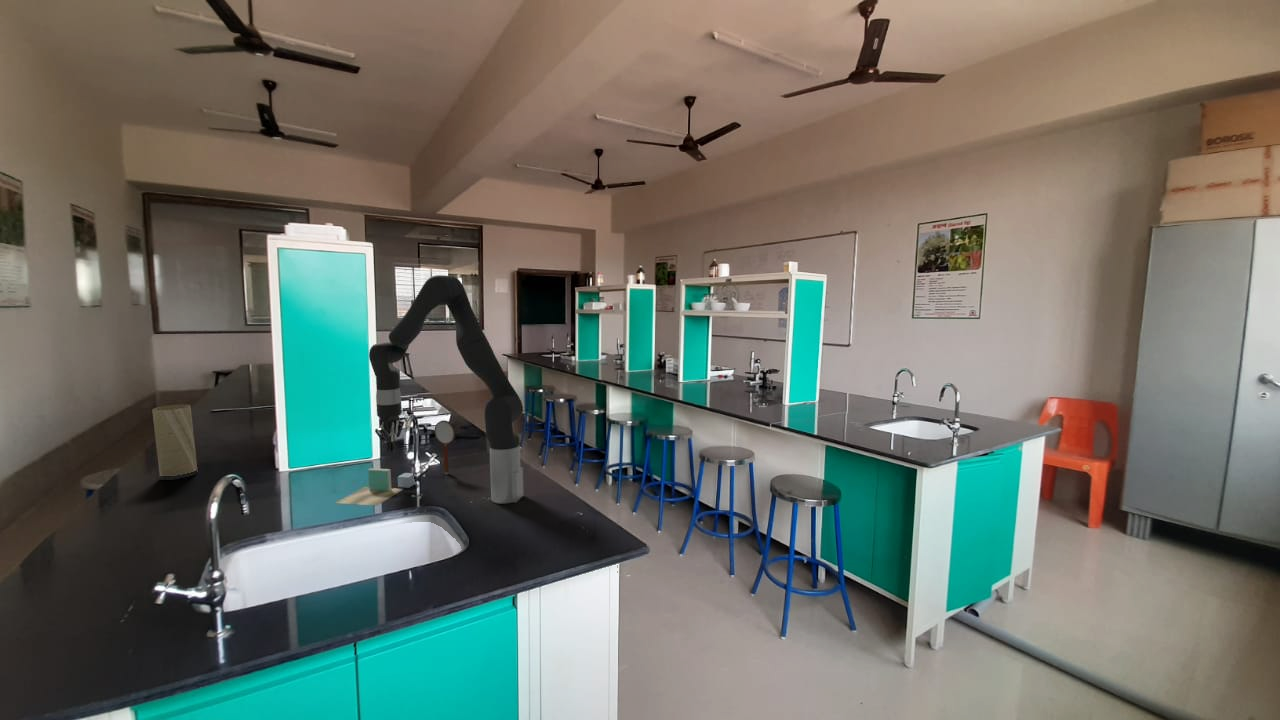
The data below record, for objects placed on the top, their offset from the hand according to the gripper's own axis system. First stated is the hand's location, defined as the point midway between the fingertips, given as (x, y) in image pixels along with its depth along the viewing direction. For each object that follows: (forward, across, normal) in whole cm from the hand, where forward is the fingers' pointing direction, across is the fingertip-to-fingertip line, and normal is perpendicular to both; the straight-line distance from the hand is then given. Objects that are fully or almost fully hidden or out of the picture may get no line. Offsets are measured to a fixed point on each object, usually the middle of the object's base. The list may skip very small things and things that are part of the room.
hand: (391, 451), depth 176 cm
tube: (+12, -4, +80) cm, 81 cm away
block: (+11, -2, -6) cm, 13 cm away
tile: (+11, -7, 0) cm, 13 cm away
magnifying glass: (+11, +11, -14) cm, 21 cm away
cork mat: (+11, -12, 0) cm, 16 cm away
